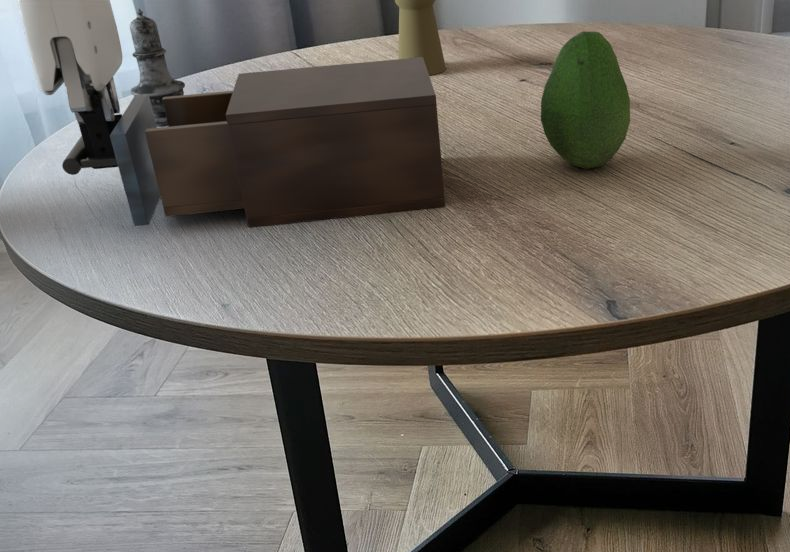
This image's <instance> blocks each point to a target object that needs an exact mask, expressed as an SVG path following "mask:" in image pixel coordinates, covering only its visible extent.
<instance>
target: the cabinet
mask: <svg viewBox="0 0 790 552" xmlns="http://www.w3.org/2000/svg"><path fill="white" fill-rule="evenodd" d="M430 77H431V76H429V74H428V71H427V68H426V65H425V62H424V59H423V57H418V58H407V59H398V58H397V59H388V60H387V59H386V60H377V61H364V62H352V63H341V64H329V65H320V66H319V65H318V66H309V67H299V68H298V67H297V68H287V69H286V68H285V69H276V70H265V71H264V70H263V71H256V72H255V71H254V72H242V73H238V74H237V77H236V81H235V84H234V87H233V90H232V91H233V93H232V96H231V100H230V103H229V106H228V109H227V112H226V120H227V124H228V130H229V135H230V140H231V144H232V149H233V154H234V159H235V164H236V169H237V174H238V179H239V184H240V189H241V194H242V199H243V204H244V208H243V209H244V214H245V217H246V223H247V227H248V228H255V227H256V228H257V227H265V226H273V225H284V224H292V223H294V224H295V223H303V222H311V221H322V220H331V219H340V218H349V217H359V216H367V215H377V214H385V213H396V212H405V211H413V210H414V211H415V210H422V209H425V210H426V209H433V208H443V207H444V208H445V207H446V198H445V186H444V184H445V183H444V175H443V174H444V173H443V161H442V153H441V152H442V150H441V138H440V127H439V115H438V107H437V105H438V103H437V95H436V92H435V90H434V87H433V83H432V80H431V78H430Z"/></svg>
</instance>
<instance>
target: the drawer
mask: <svg viewBox="0 0 790 552" xmlns="http://www.w3.org/2000/svg"><path fill="white" fill-rule="evenodd" d="M232 93H233V90H226V91H225V90H223V91H214V92H203V93H191V94H184V95H180V96H170V97H163V99H162V102H163V106H164V110H165V114H166V119H167V123H168V125H167V126H160V127H158V126H156V122H155V118H154V114H153V110H152V106H151V102H150V98H149V94H143V95H135V96H134V95H133V98H132V99H131V101H130V103H129V104H128V106H127V107H126V109H125V110H124V111H123V114H122V117H121V118H120V120H119V122H118V123H117V125H116V126H115V128H114V130H113V131H112V133H111V134H110V138H111V141H112V145H113V149H114V153H115V156H112V157H101V158H91V159H88V156H87V152H86V149H85V145H84V142H83V138H82V135H81V136H80V137H79V139H78V140H77V141H76V143H75V144H74V146H73V147H72V149H71V150H70V151H69V153H68V154H67V155H66V157H65V159H64V160H63V162H62V164H61V166H62V169H63V171H64V172H65V173H66V174H68V175H71V176H73V175H75V176H76V175H78V173H80V172H81V170H82V169H88V168H92V167H100V166H110V165H118V167H117V168H118V171H119V174H120V175H119V176H120V178H121V182H122V185H123V190H124V193H125V197H126V200H127V204H128V205H127V206H128V208H129V212H130V215H131V219H132V223H133V227H143V226H144V227H145V226H149V225H150V223H151V221H152V218H153V216H154V214H155V211H156V209H157V206H158V204H159V201H160V200H161V203H162V207H163V212H164V215H165V217H174V216H175V217H176V216H184V215H185V216H186V215H195V214H204V213H213V212H222V211H223V212H225V211H232V210H233V211H234V210H242V209H244V204H243V199H242V194H241V189H240V184H239V179H238V174H237V169H236V164H235V159H234V154H233V149H232V144H231V140H230V135H229V130H228V124H227V120H226V112H227V109H228V106H229V103H230V100H231V96H232Z"/></svg>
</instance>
